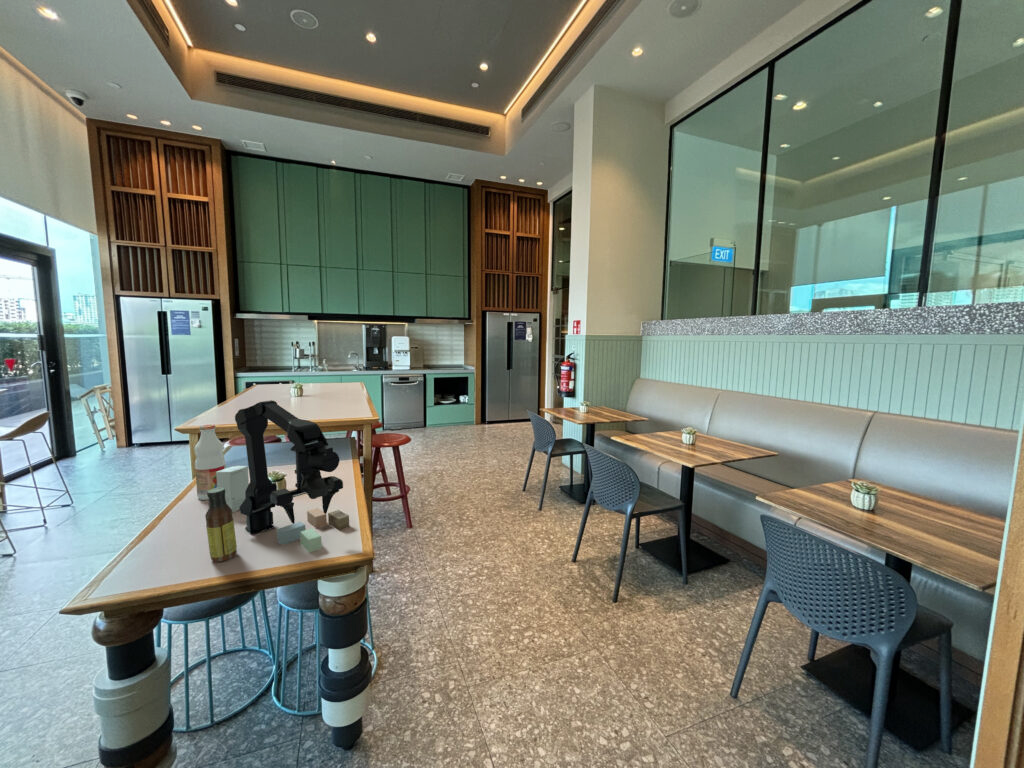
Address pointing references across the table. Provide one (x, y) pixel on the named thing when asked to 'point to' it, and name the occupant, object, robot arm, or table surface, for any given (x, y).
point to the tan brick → (316, 517)
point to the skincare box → (233, 485)
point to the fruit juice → (208, 460)
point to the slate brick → (289, 533)
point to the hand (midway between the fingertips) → (309, 518)
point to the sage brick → (310, 540)
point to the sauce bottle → (220, 527)
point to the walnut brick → (338, 520)
